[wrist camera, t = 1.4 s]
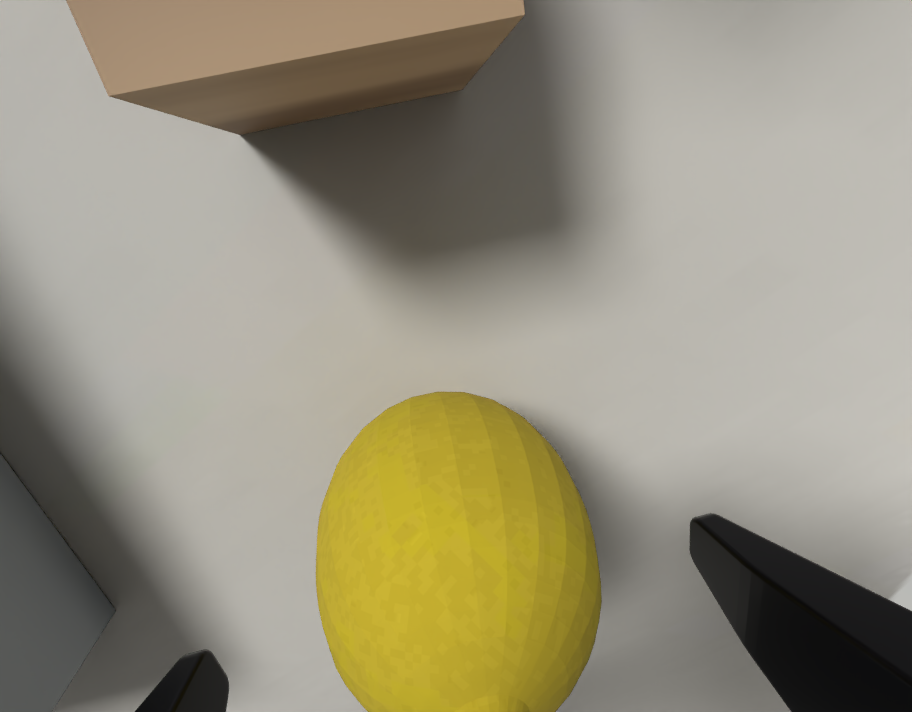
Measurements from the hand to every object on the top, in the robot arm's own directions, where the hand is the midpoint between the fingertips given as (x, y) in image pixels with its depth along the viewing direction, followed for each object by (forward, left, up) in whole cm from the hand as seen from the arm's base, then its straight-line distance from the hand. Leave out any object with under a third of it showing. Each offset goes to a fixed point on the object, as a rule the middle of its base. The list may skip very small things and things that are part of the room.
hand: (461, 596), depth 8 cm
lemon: (0, 0, -6) cm, 6 cm away
